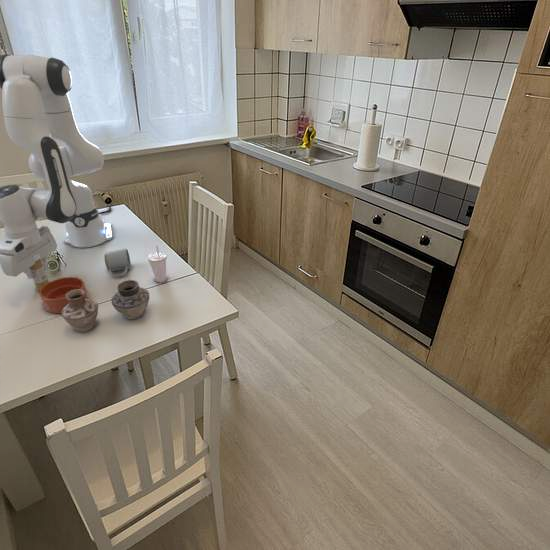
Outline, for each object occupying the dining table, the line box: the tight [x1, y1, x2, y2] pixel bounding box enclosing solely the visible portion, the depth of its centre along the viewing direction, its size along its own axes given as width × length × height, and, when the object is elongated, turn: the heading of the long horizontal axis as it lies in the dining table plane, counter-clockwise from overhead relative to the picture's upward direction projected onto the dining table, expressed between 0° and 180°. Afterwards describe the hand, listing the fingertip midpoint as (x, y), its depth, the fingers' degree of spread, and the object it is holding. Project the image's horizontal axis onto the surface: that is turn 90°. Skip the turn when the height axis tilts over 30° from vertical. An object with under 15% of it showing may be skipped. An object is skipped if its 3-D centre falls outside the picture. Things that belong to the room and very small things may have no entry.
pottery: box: [61, 279, 150, 333], centre depth 119 cm, size 11×25×12 cm, turn 117°
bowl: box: [38, 276, 89, 314], centre depth 128 cm, size 13×13×6 cm
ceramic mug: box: [103, 247, 132, 279], centre depth 144 cm, size 11×8×8 cm
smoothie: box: [147, 244, 168, 283], centre depth 138 cm, size 6×6×14 cm
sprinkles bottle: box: [29, 253, 50, 292], centre depth 132 cm, size 5×5×14 cm
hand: (38, 273), depth 133 cm, fingers closed on sprinkles bottle, 4 cm apart
